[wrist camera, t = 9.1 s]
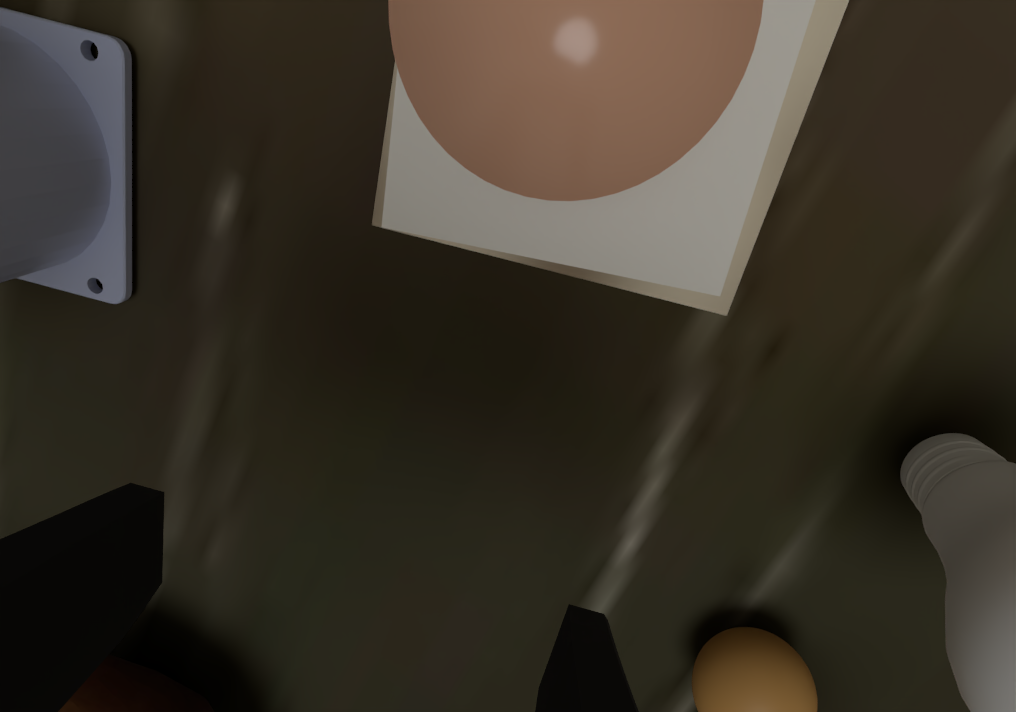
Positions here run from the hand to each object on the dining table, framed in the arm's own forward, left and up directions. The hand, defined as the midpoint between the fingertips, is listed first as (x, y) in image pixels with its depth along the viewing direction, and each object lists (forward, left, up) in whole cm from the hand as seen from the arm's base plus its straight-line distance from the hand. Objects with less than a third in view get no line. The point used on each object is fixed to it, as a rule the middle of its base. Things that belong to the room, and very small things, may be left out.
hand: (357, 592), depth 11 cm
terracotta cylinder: (+1, +9, -6) cm, 11 cm away
